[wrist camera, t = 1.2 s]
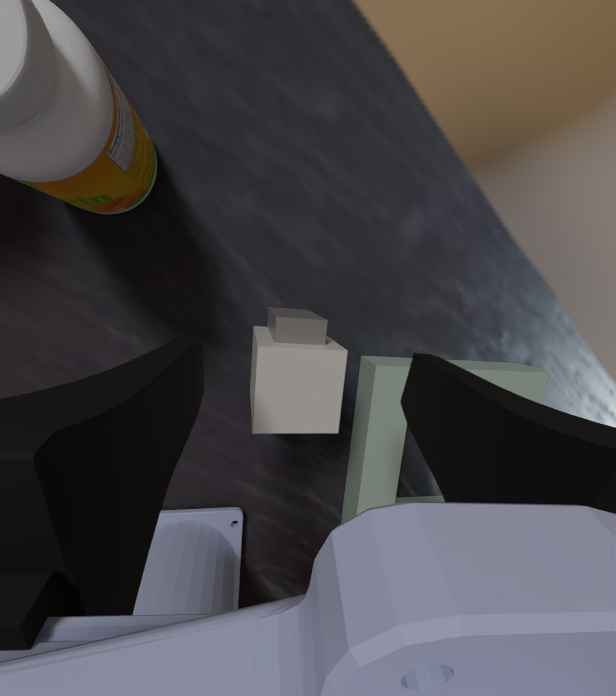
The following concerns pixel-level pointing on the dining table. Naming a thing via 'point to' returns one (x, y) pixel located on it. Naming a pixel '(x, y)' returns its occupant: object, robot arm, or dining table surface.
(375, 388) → the socket board
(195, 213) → the dining table surface
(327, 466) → the dining table surface
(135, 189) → the supplement bottle
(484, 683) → the robot arm
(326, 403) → the plug
